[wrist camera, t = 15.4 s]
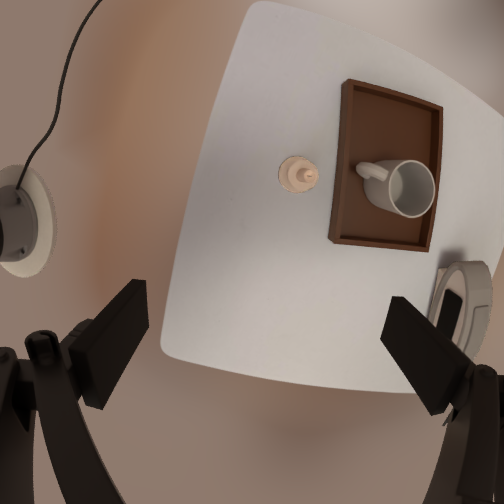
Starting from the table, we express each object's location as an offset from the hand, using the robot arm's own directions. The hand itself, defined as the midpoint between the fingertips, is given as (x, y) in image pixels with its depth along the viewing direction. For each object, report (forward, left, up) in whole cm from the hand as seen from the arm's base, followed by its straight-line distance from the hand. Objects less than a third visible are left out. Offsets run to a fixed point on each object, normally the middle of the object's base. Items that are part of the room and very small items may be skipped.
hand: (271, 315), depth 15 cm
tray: (-10, +19, -29) cm, 36 cm away
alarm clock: (+13, +36, -29) cm, 48 cm away
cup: (-8, +17, -28) cm, 34 cm away
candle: (-7, +5, -29) cm, 30 cm away
